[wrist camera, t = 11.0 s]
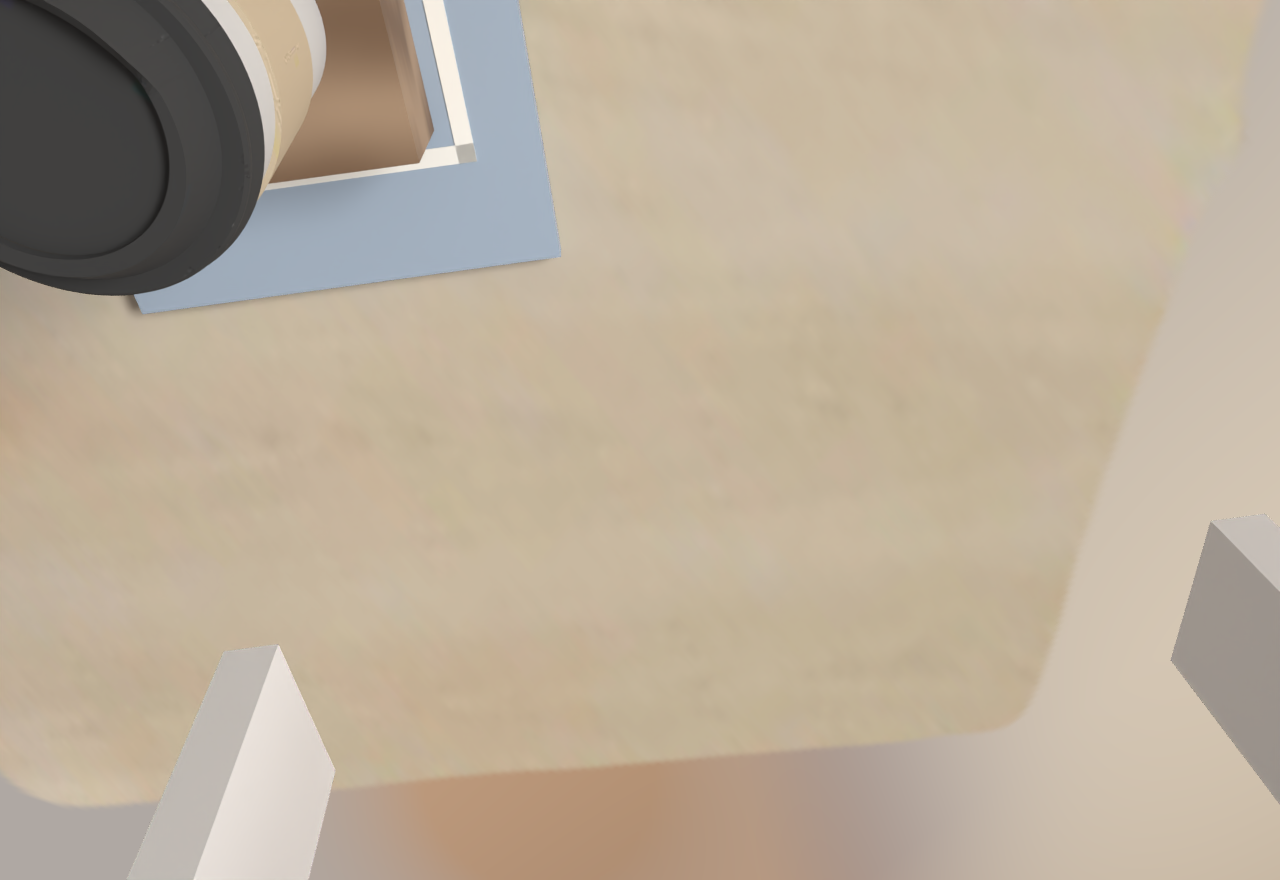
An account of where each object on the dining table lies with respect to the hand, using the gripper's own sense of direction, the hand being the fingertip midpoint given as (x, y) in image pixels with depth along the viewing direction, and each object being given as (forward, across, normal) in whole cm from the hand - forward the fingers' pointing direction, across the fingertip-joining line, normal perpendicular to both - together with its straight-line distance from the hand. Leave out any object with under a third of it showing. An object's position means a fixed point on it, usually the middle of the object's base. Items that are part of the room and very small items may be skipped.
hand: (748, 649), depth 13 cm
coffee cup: (+27, -14, +6) cm, 31 cm away
